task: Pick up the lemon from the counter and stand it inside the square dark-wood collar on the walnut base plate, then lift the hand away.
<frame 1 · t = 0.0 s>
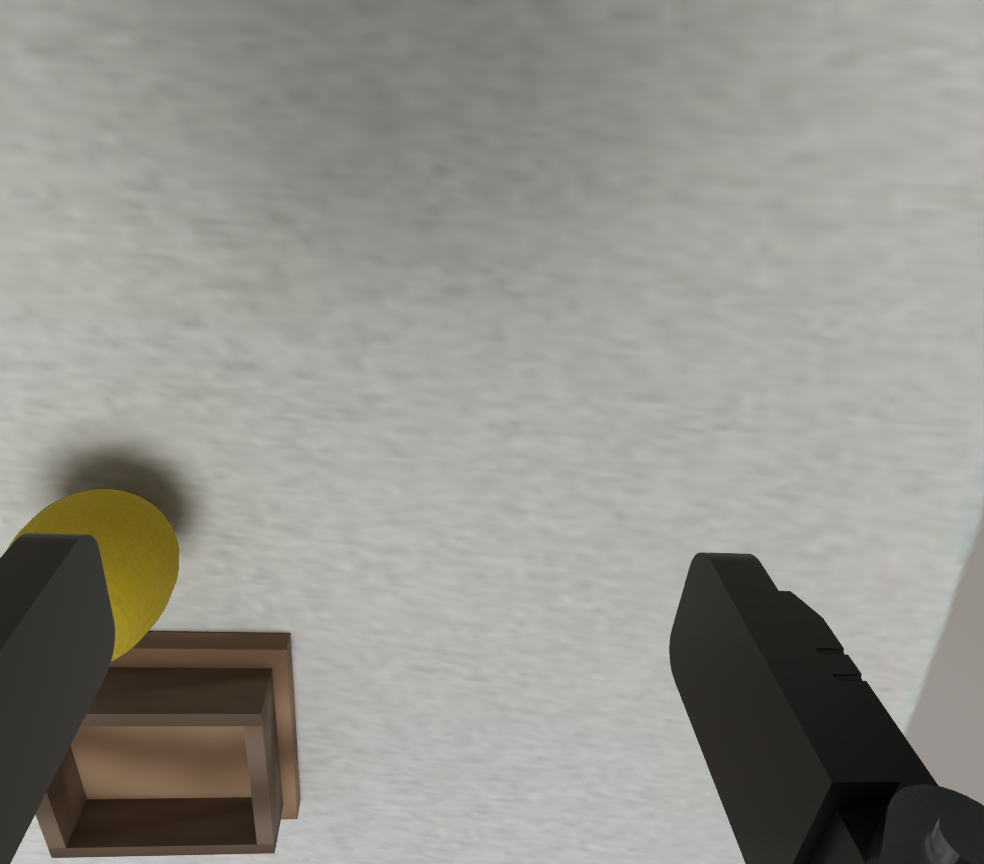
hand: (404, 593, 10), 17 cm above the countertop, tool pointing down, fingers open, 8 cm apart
lemon stand: (173, 725, 36), on the countertop
lemon: (134, 504, 29), on the countertop
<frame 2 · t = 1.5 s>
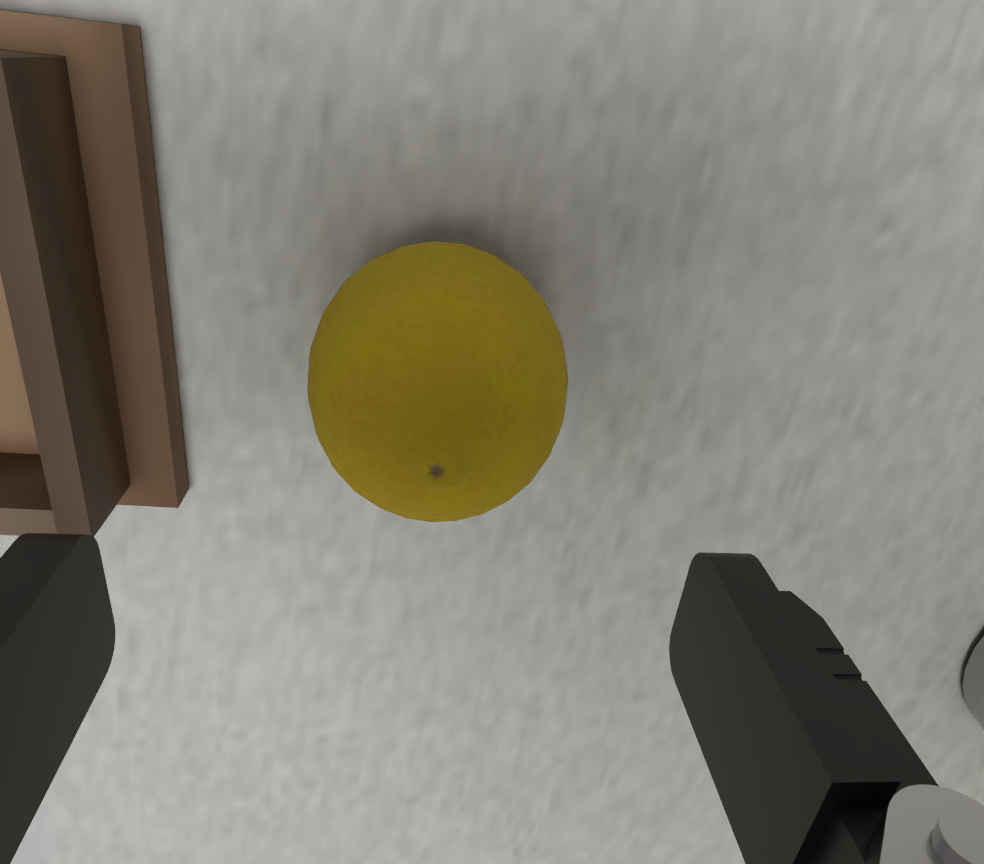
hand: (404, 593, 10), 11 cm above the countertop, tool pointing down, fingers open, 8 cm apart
lemon: (440, 312, 19), on the countertop
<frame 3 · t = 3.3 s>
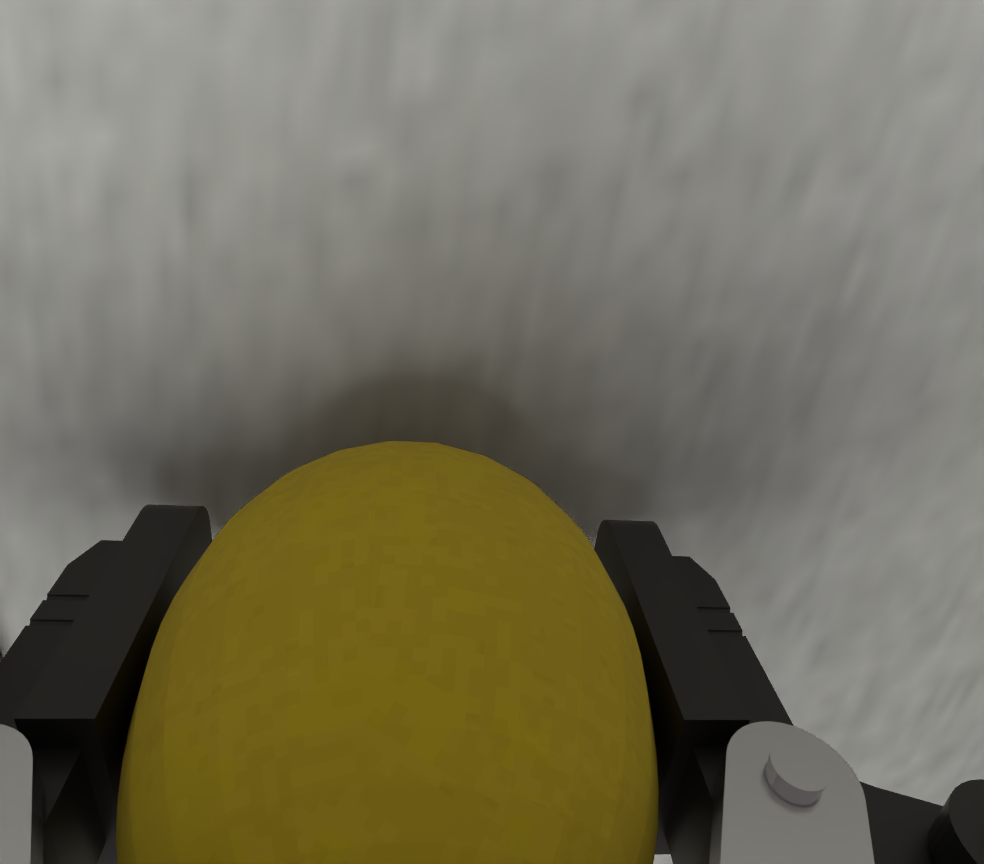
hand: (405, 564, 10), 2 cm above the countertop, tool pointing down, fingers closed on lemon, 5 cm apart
lemon: (409, 498, 12), on the countertop, touching gripper
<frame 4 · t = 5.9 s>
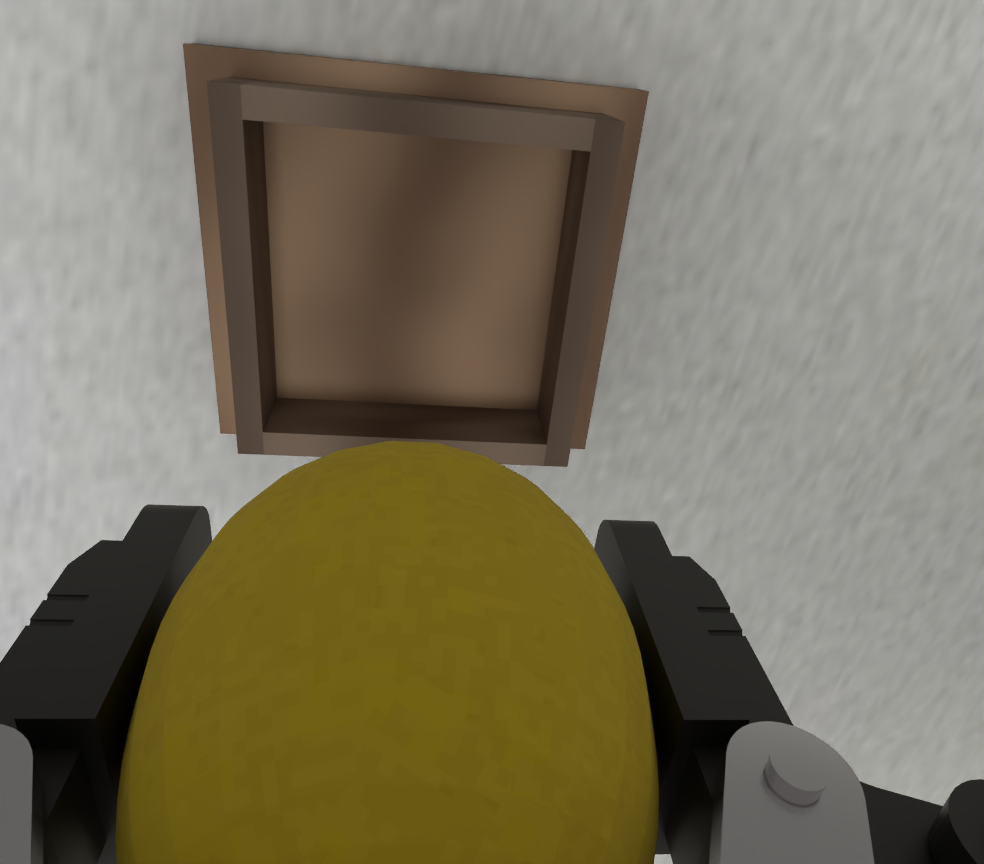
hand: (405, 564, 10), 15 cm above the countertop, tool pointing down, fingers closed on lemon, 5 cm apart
lemon stand: (415, 269, 24), on the countertop
lemon: (409, 499, 12), point 14 cm above the countertop, touching gripper
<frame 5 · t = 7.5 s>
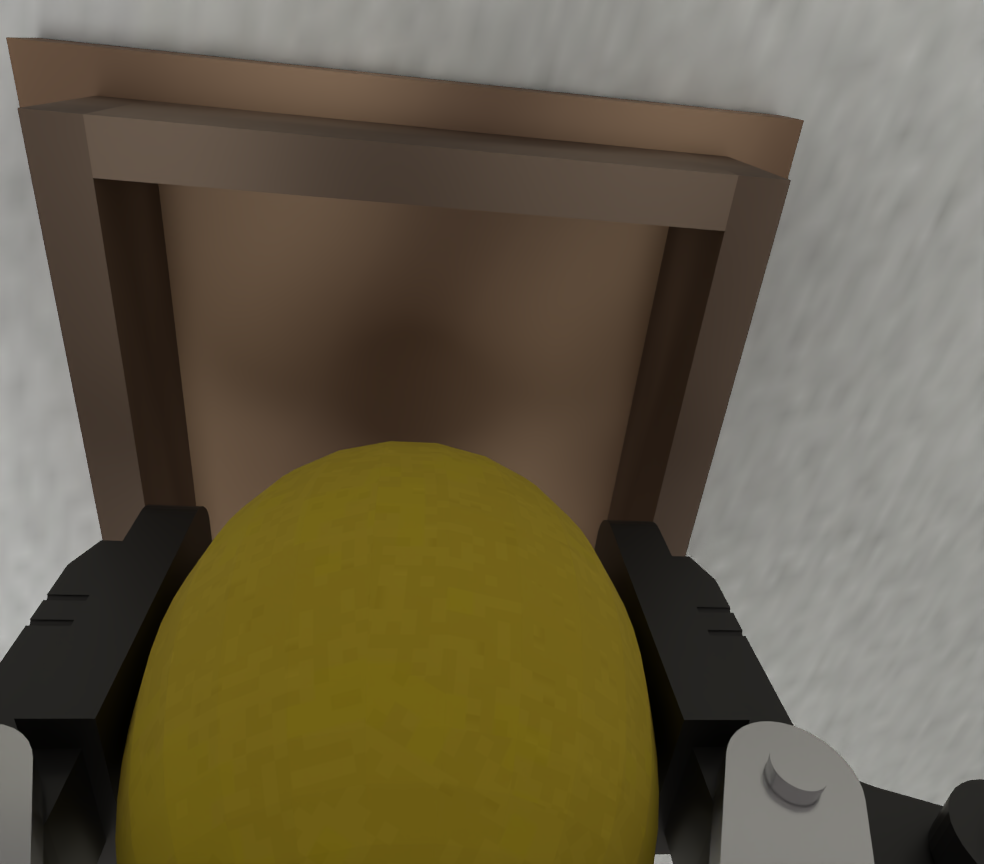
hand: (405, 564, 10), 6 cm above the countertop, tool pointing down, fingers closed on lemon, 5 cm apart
lemon stand: (414, 387, 15), on the countertop
lemon: (409, 499, 12), point 4 cm above the countertop, touching gripper
when the fingers open (5 cm above the countertop, at t = 8.6 s): lemon drops 2 cm, resting on lemon stand.
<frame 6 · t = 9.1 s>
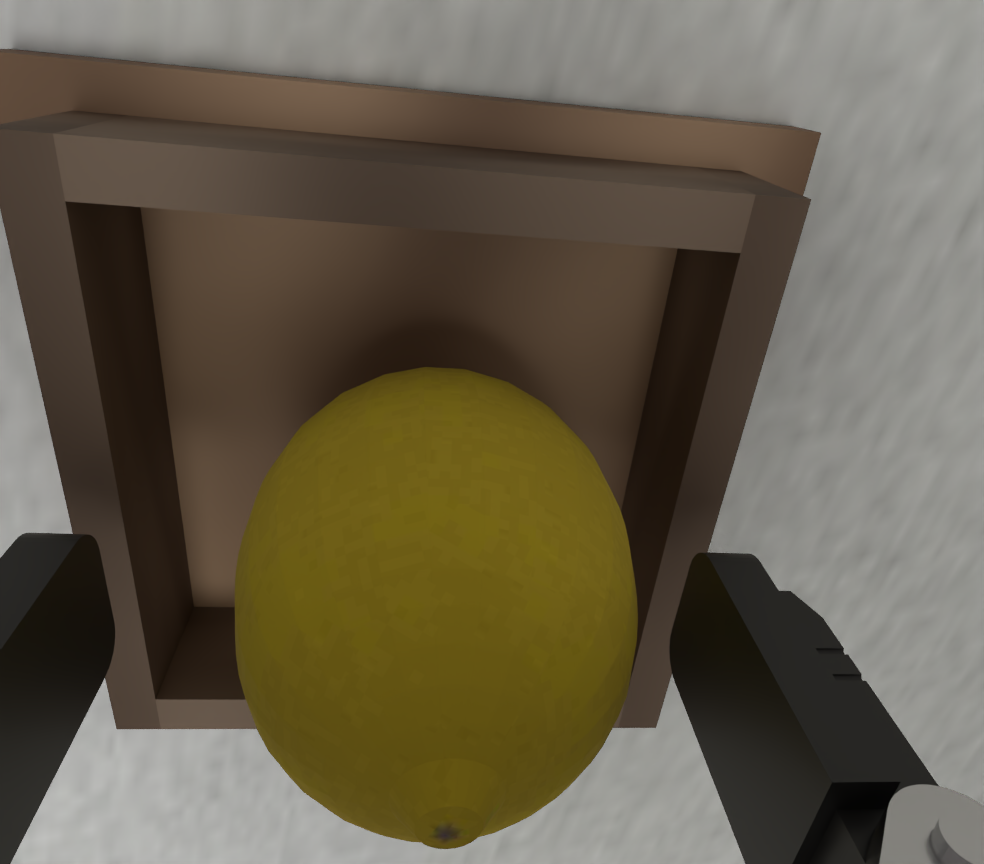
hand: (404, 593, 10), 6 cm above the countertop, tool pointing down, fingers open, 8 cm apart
lemon stand: (412, 410, 15), on the countertop
lemon: (432, 432, 14), point 1 cm above the countertop, touching lemon stand
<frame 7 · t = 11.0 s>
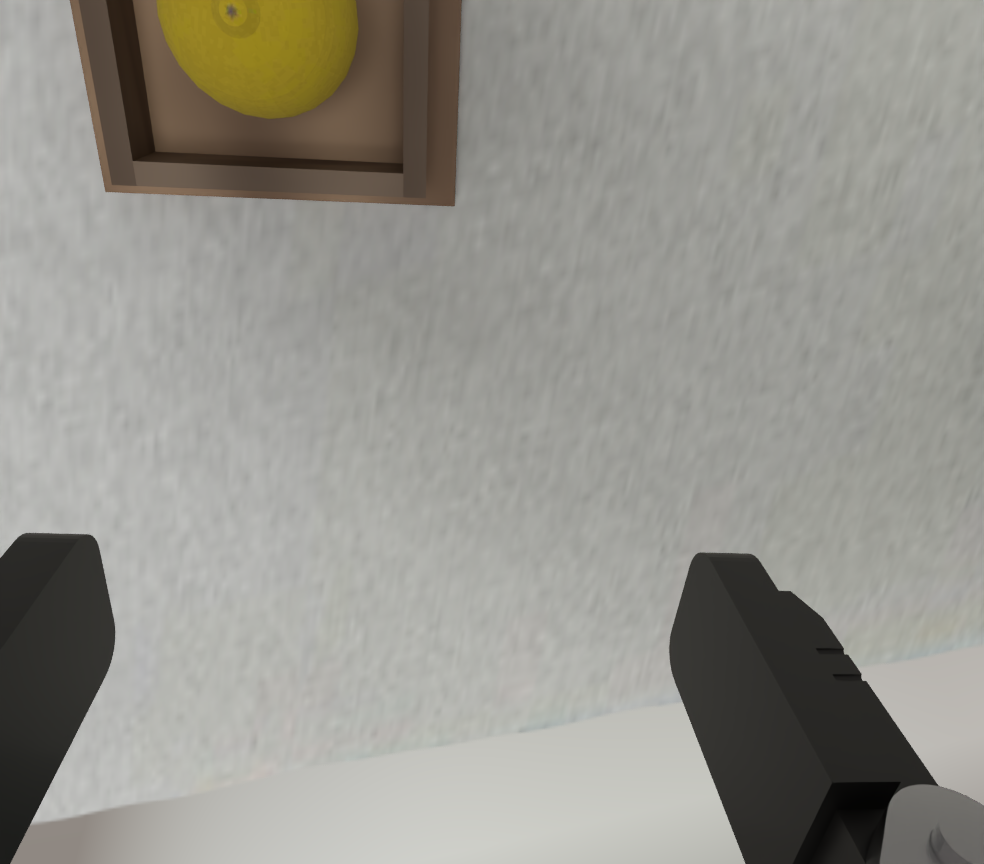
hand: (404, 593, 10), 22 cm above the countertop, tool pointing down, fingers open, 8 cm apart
lemon stand: (276, 19, 25), on the countertop
lemon: (285, 21, 25), point 1 cm above the countertop, touching lemon stand
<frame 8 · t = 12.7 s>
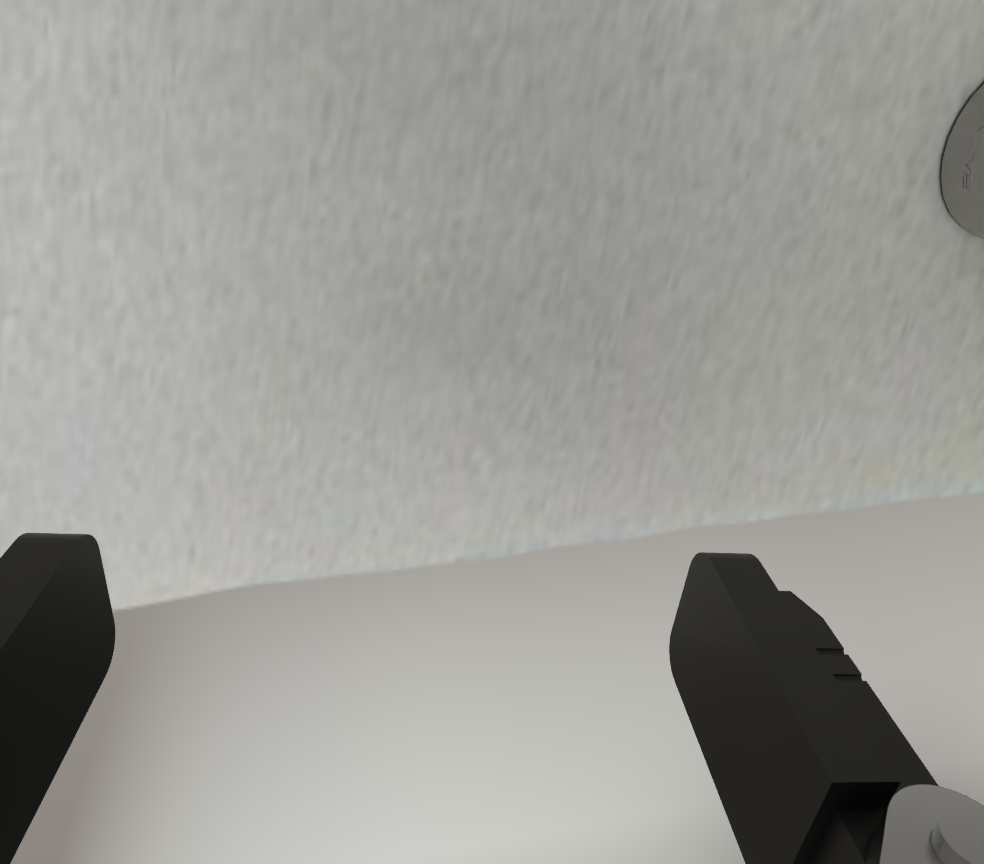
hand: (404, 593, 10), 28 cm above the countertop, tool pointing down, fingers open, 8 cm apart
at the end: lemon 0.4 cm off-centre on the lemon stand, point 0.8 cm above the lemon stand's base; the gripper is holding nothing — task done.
